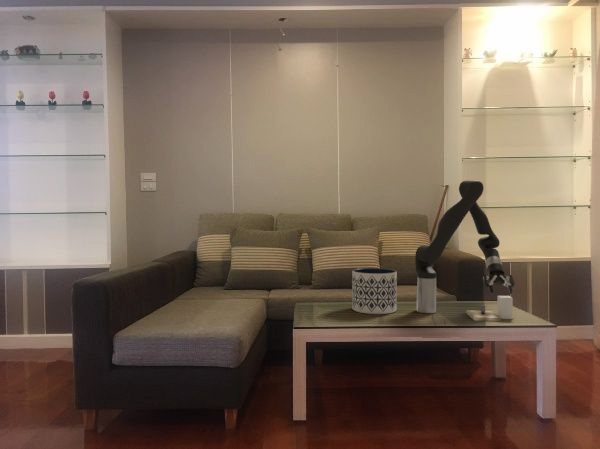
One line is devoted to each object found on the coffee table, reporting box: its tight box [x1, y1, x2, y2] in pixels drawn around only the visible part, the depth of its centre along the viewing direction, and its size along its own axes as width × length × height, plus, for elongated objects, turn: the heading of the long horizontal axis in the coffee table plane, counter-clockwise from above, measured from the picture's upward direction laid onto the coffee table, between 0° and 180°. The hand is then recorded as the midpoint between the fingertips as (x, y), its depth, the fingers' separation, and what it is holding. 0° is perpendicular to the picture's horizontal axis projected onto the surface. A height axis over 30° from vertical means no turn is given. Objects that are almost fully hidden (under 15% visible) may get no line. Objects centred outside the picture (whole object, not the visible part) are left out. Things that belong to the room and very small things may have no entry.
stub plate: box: [465, 304, 502, 322], centre depth 238 cm, size 12×16×6 cm
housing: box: [496, 295, 514, 320], centre depth 237 cm, size 5×5×10 cm
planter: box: [351, 267, 398, 315], centre depth 254 cm, size 22×22×20 cm
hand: (501, 293), depth 243 cm, fingers open, 8 cm apart
